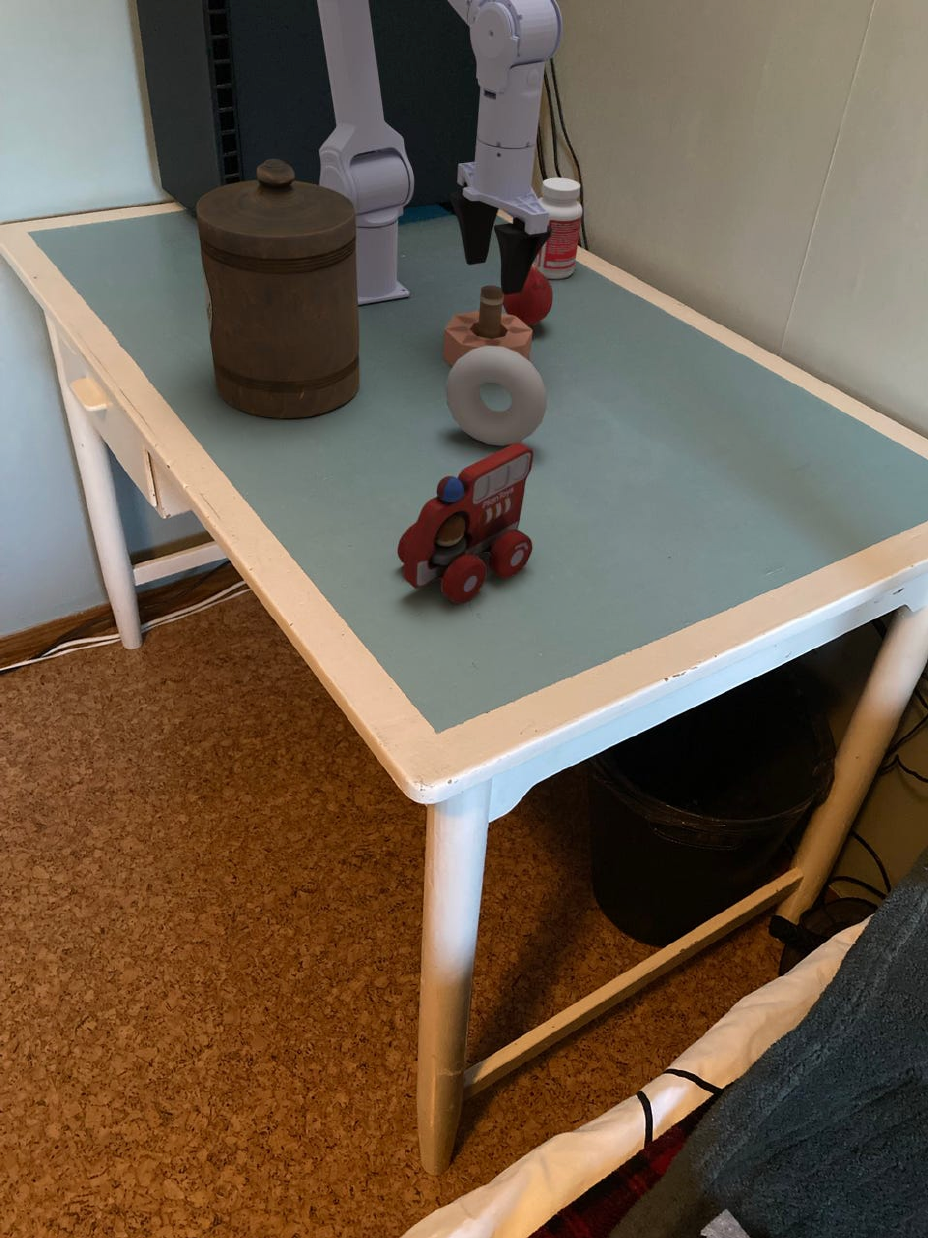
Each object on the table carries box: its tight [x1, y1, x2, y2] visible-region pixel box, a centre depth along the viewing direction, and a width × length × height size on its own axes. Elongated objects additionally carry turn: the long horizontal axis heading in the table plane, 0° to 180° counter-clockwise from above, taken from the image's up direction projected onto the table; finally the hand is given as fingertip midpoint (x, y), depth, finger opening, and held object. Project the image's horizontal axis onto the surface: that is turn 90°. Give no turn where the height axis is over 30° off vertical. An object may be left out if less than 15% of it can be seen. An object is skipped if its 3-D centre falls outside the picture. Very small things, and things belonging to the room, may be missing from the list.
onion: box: [502, 264, 554, 328], centre depth 111 cm, size 6×6×8 cm
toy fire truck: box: [396, 442, 534, 604], centre depth 77 cm, size 7×12×10 cm, turn 132°
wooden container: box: [195, 158, 360, 419], centre depth 94 cm, size 15×15×22 cm
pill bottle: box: [533, 177, 583, 280], centre depth 123 cm, size 6×6×11 cm
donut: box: [445, 346, 548, 447], centre depth 92 cm, size 10×3×10 cm, turn 71°
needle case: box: [477, 284, 504, 339], centre depth 105 cm, size 2×2×8 cm
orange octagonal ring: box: [442, 310, 534, 369], centre depth 107 cm, size 9×9×4 cm
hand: (493, 277), depth 101 cm, fingers open, 7 cm apart
